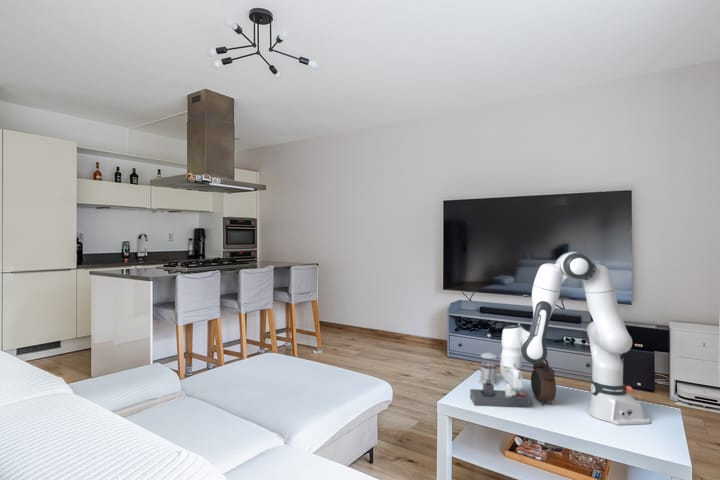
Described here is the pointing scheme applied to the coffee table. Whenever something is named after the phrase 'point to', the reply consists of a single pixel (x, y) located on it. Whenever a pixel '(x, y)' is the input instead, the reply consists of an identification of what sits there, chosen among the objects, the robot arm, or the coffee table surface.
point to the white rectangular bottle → (508, 390)
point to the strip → (499, 399)
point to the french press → (488, 369)
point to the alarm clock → (543, 382)
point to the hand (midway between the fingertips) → (510, 392)
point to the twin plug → (488, 388)
